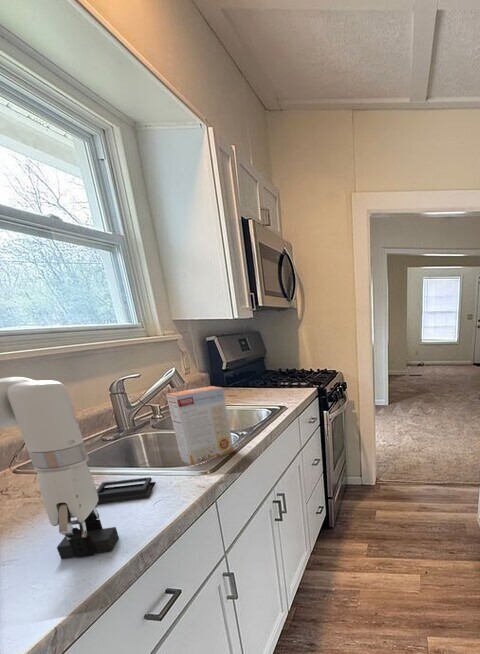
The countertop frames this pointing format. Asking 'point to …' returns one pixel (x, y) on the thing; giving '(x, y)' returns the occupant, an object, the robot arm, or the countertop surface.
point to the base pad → (125, 491)
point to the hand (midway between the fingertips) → (90, 546)
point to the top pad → (101, 540)
